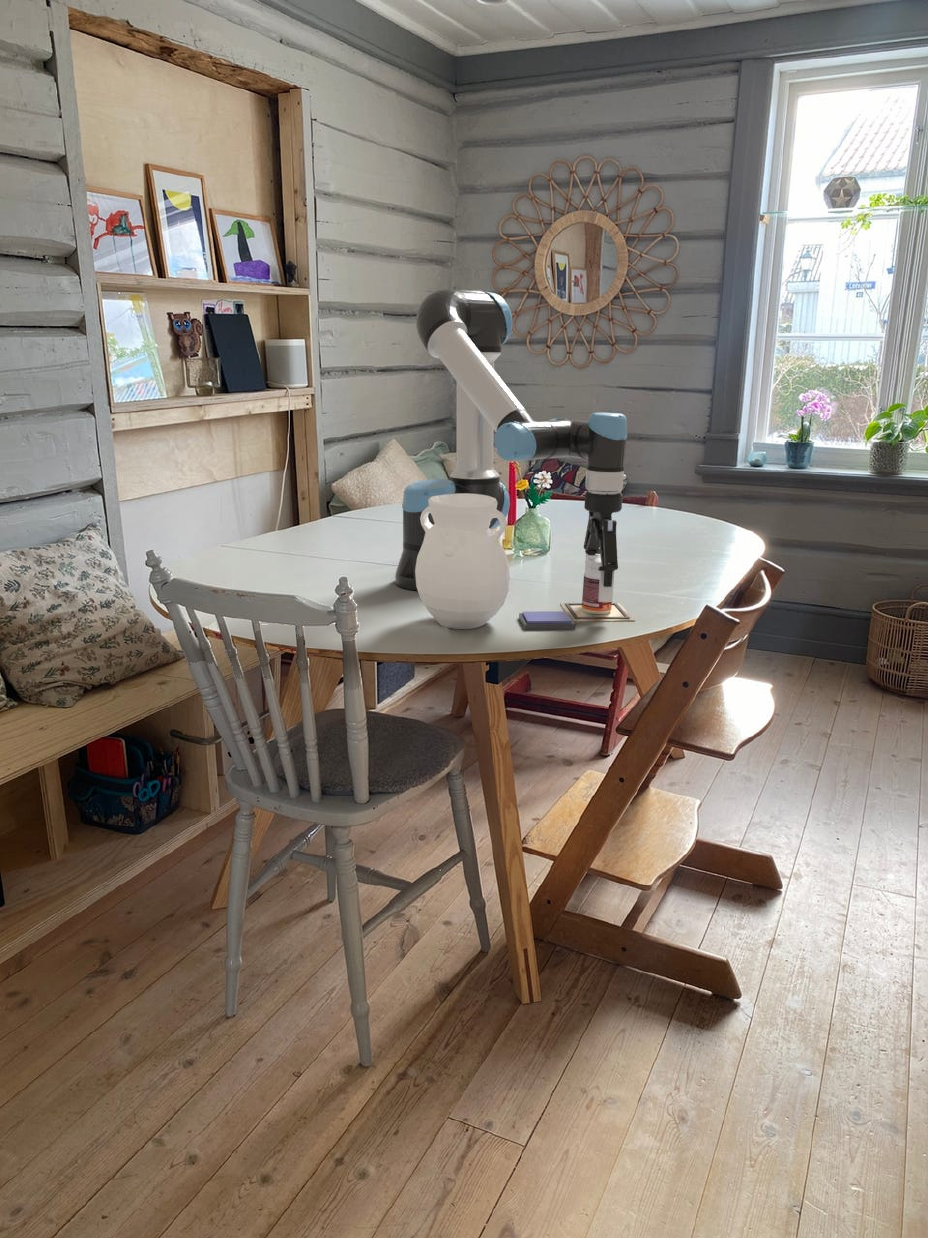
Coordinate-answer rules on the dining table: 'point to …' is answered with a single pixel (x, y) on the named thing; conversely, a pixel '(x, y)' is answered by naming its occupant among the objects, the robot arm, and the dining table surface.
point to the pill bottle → (593, 590)
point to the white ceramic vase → (462, 560)
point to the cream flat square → (579, 615)
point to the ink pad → (546, 620)
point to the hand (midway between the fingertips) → (597, 593)
